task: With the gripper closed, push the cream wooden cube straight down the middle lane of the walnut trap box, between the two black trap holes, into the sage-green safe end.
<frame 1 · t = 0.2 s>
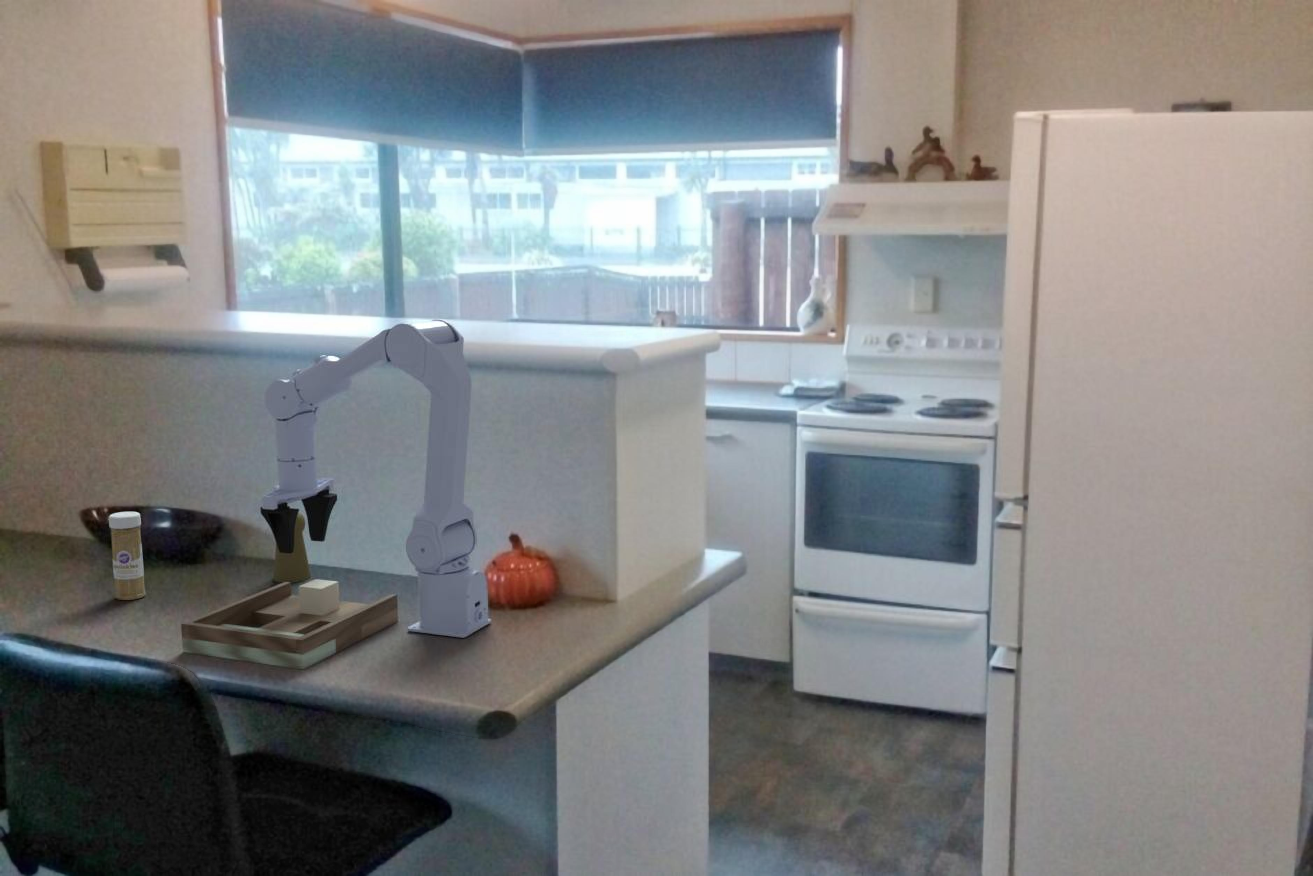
hand: (302, 546, 188), 9 cm above the worktop, fingers open, 7 cm apart
sprinkles bottle: (131, 598, 195), on the worktop
cream cube: (320, 610, 181), point 2 cm above the worktop, touching trap box
trap box: (294, 635, 175), on the worktop
cork: (292, 578, 206), on the worktop
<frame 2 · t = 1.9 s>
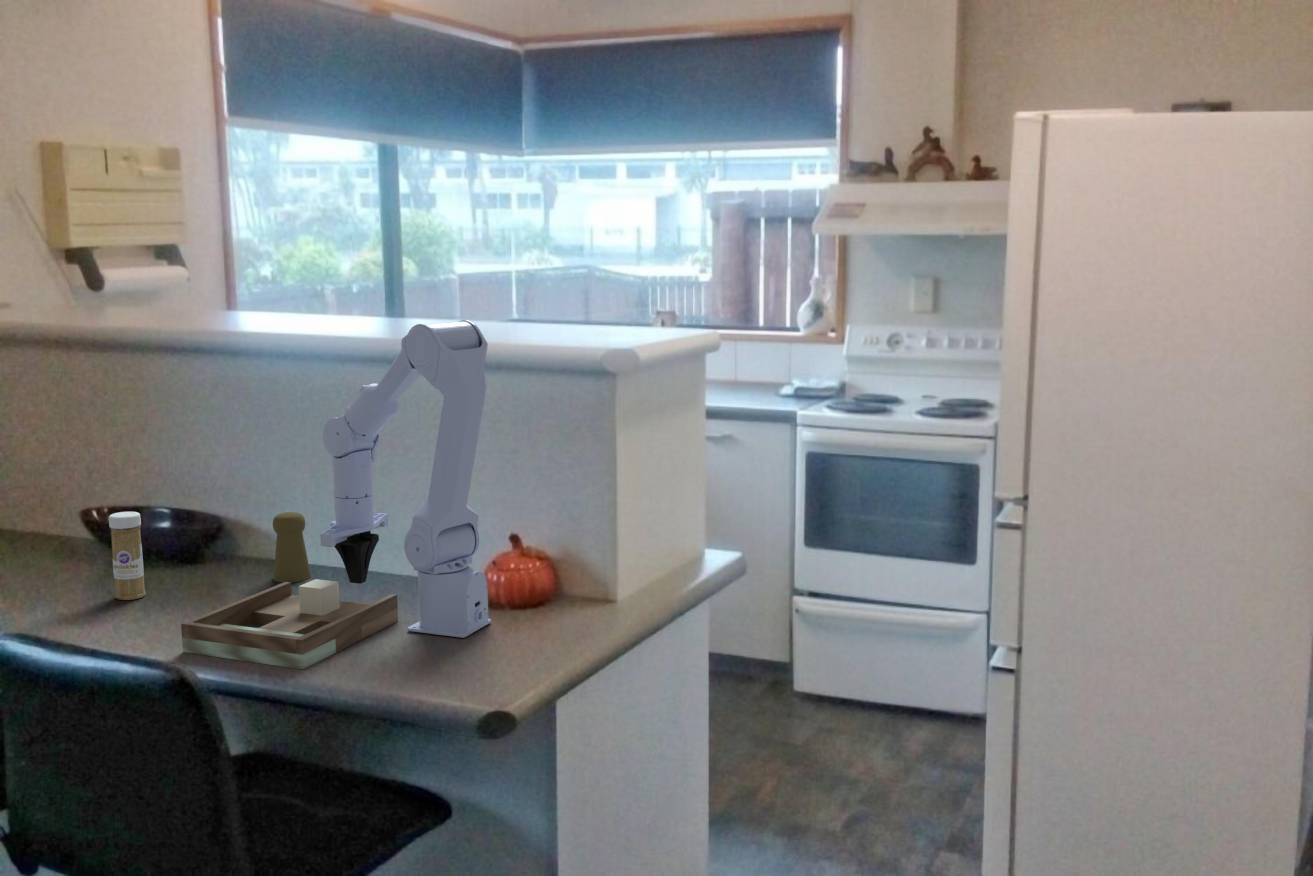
hand: (357, 582, 189), 4 cm above the worktop, fingers closed
nothing on the worktop moved.
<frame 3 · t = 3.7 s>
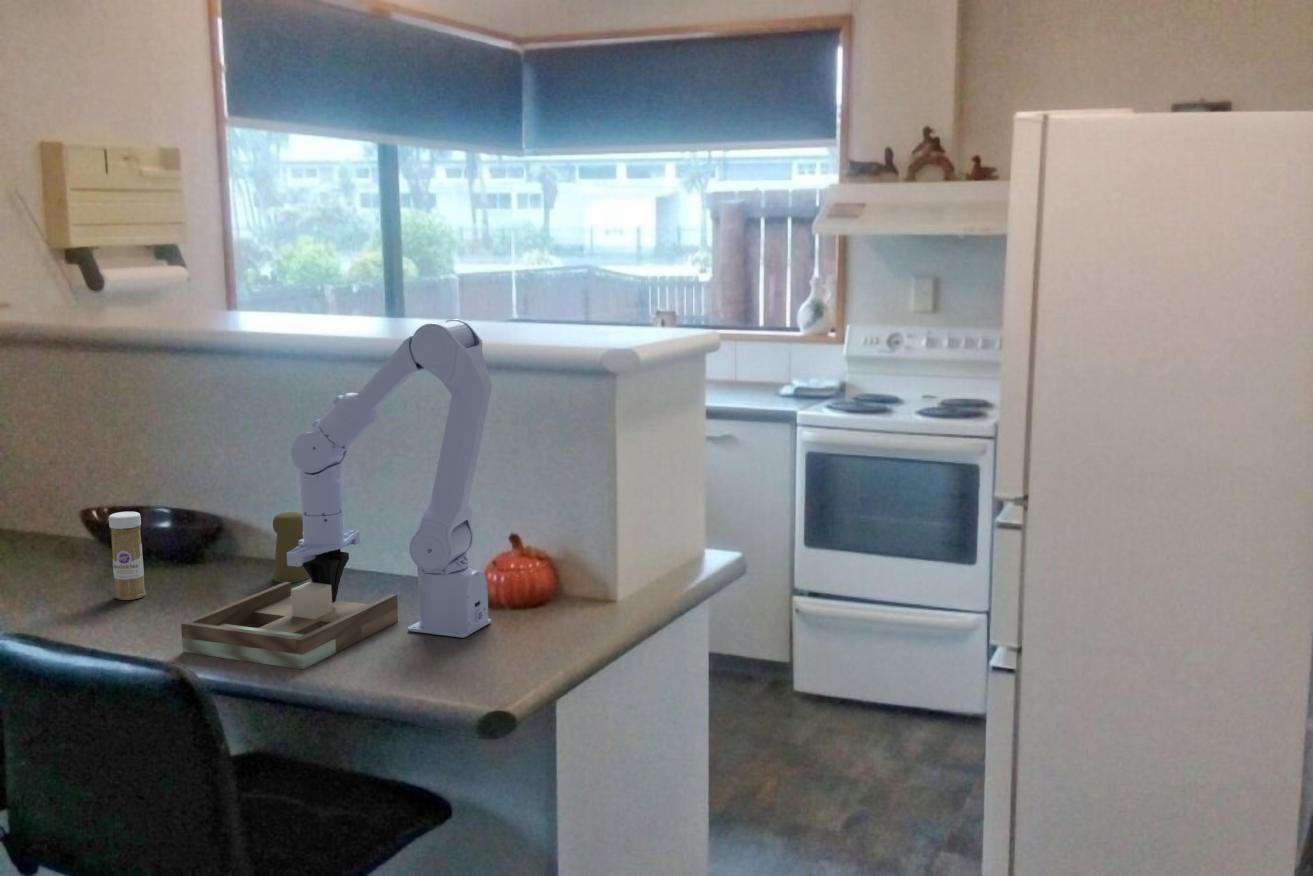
hand: (327, 602, 182), 3 cm above the worktop, fingers closed
cream cube: (312, 613, 179), point 2 cm above the worktop, touching gripper, trap box
everything else where it was.
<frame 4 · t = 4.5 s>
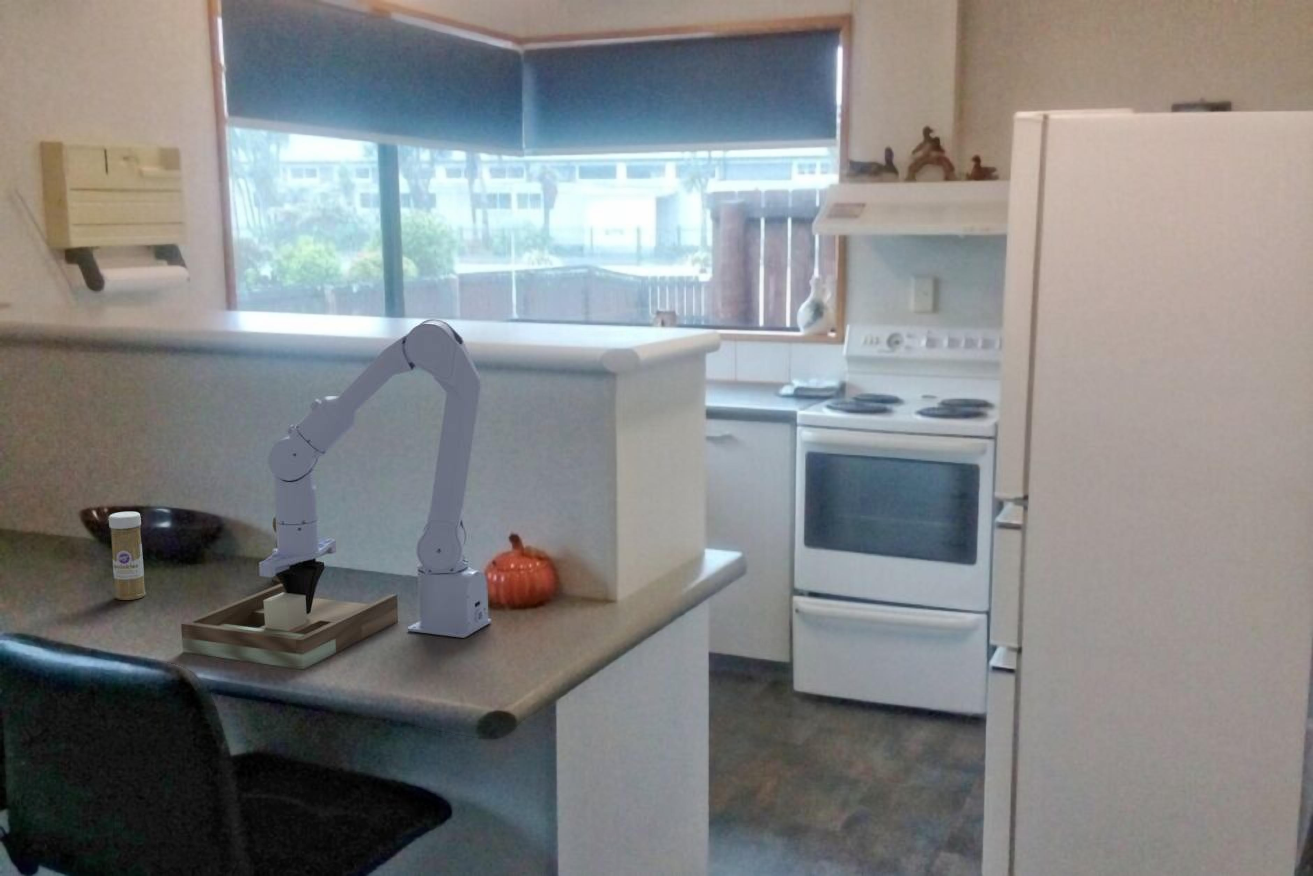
hand: (302, 613, 177), 3 cm above the worktop, fingers closed
cream cube: (286, 625, 174), point 2 cm above the worktop, touching gripper
everything else where it was.
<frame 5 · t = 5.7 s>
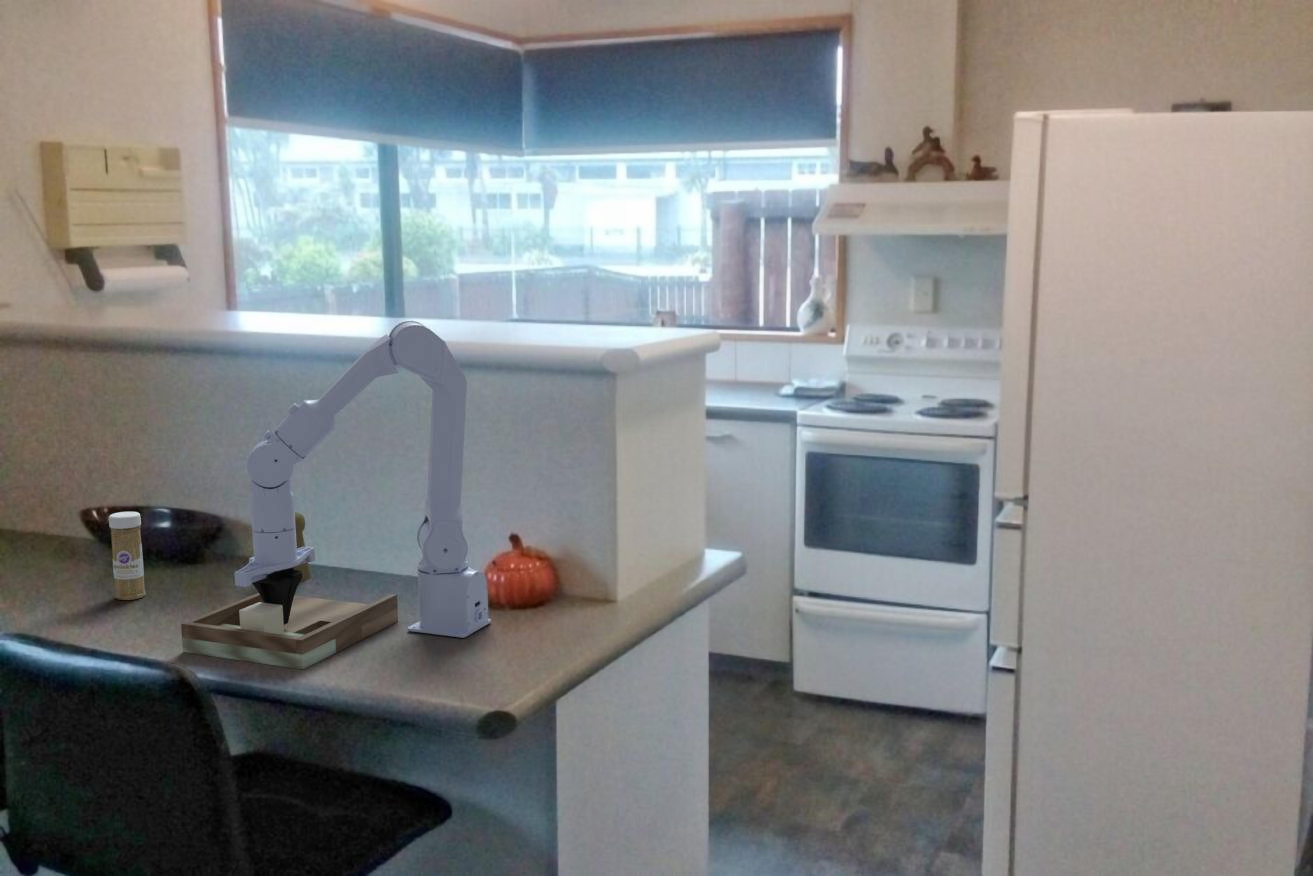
hand: (279, 623, 172), 3 cm above the worktop, fingers closed
cream cube: (262, 635, 169), point 2 cm above the worktop, touching gripper, trap box
everything else where it was.
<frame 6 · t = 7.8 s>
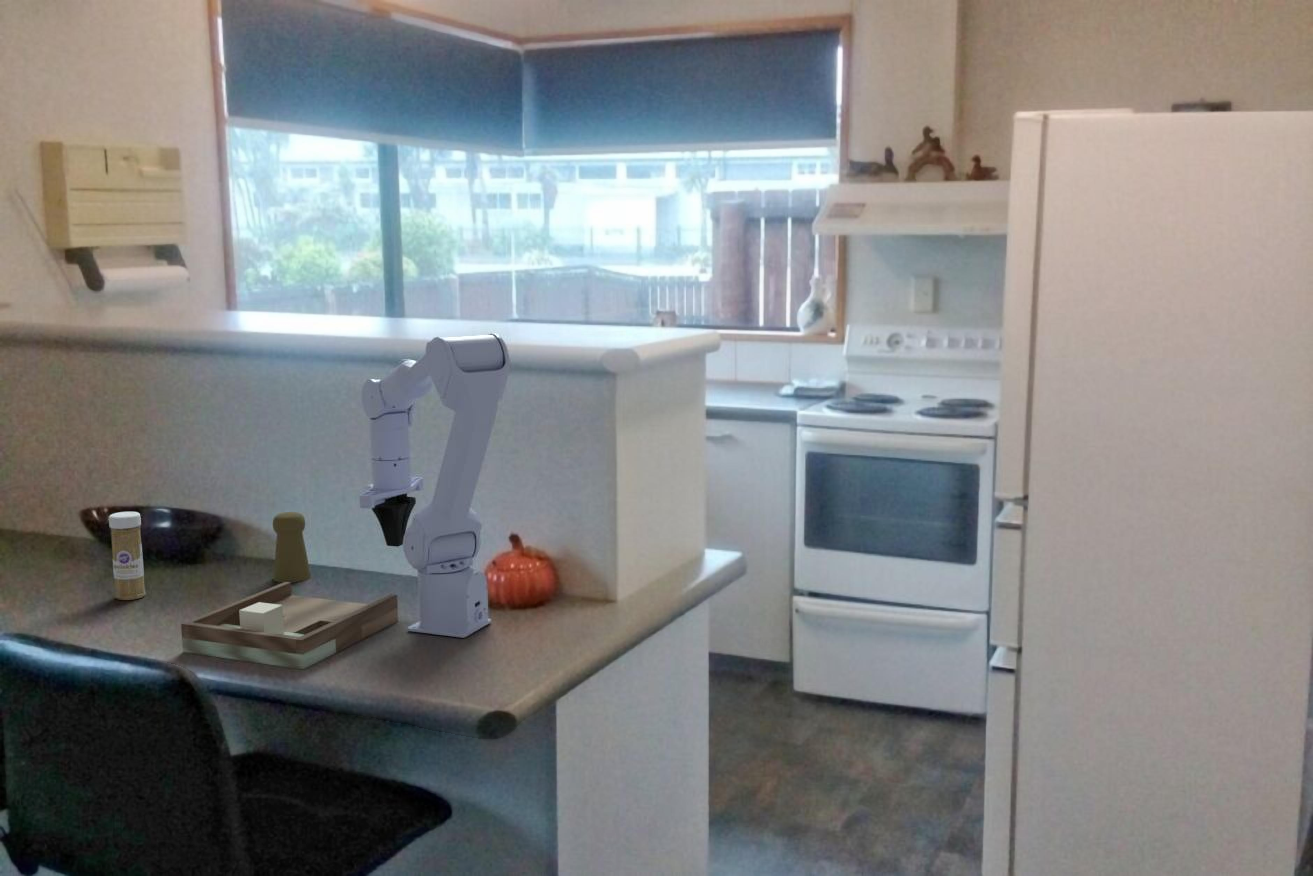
hand: (394, 545, 189), 9 cm above the worktop, fingers closed
cream cube: (262, 635, 169), point 2 cm above the worktop, touching trap box
everything else where it was.
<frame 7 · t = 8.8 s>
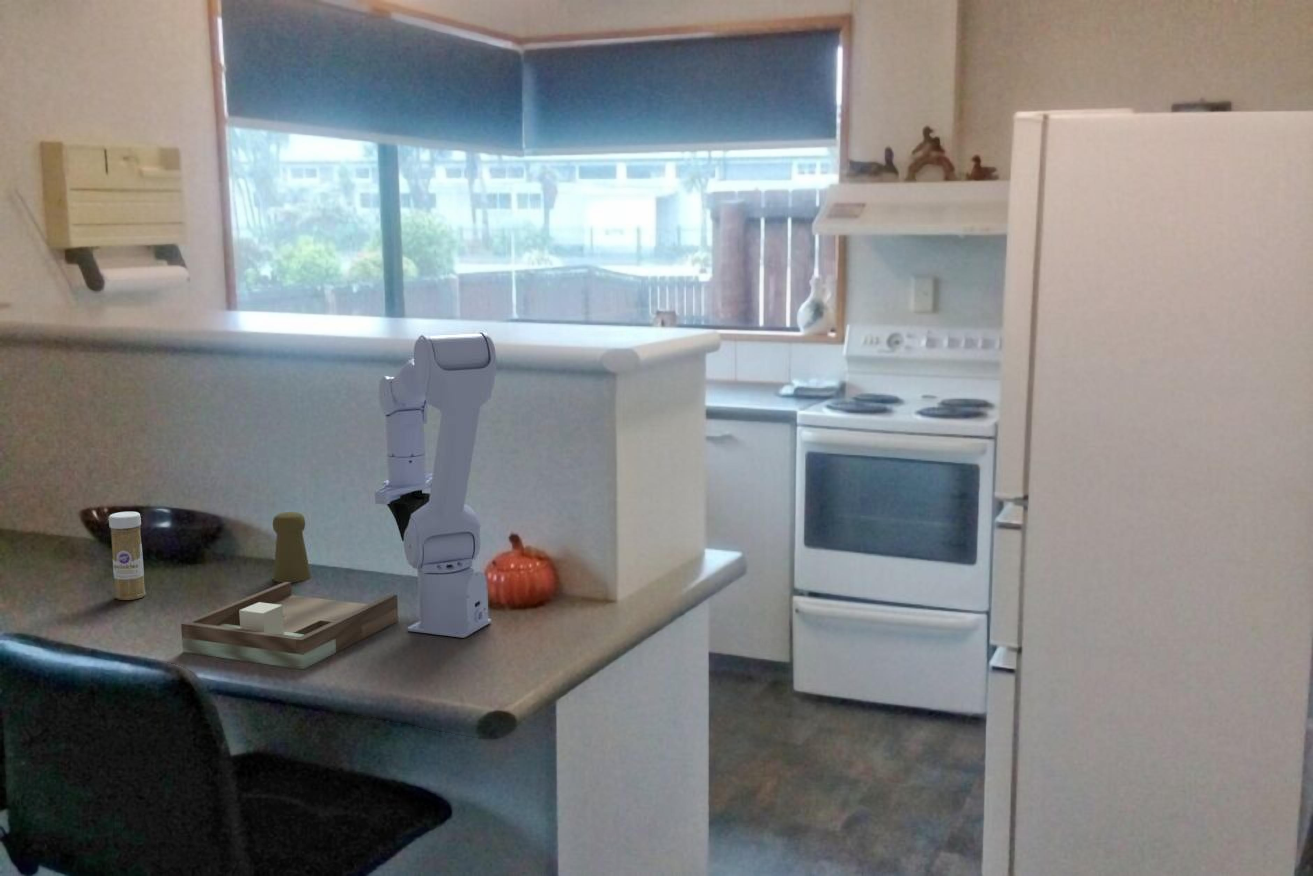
hand: (410, 540, 191), 9 cm above the worktop, fingers closed
nothing on the worktop moved.
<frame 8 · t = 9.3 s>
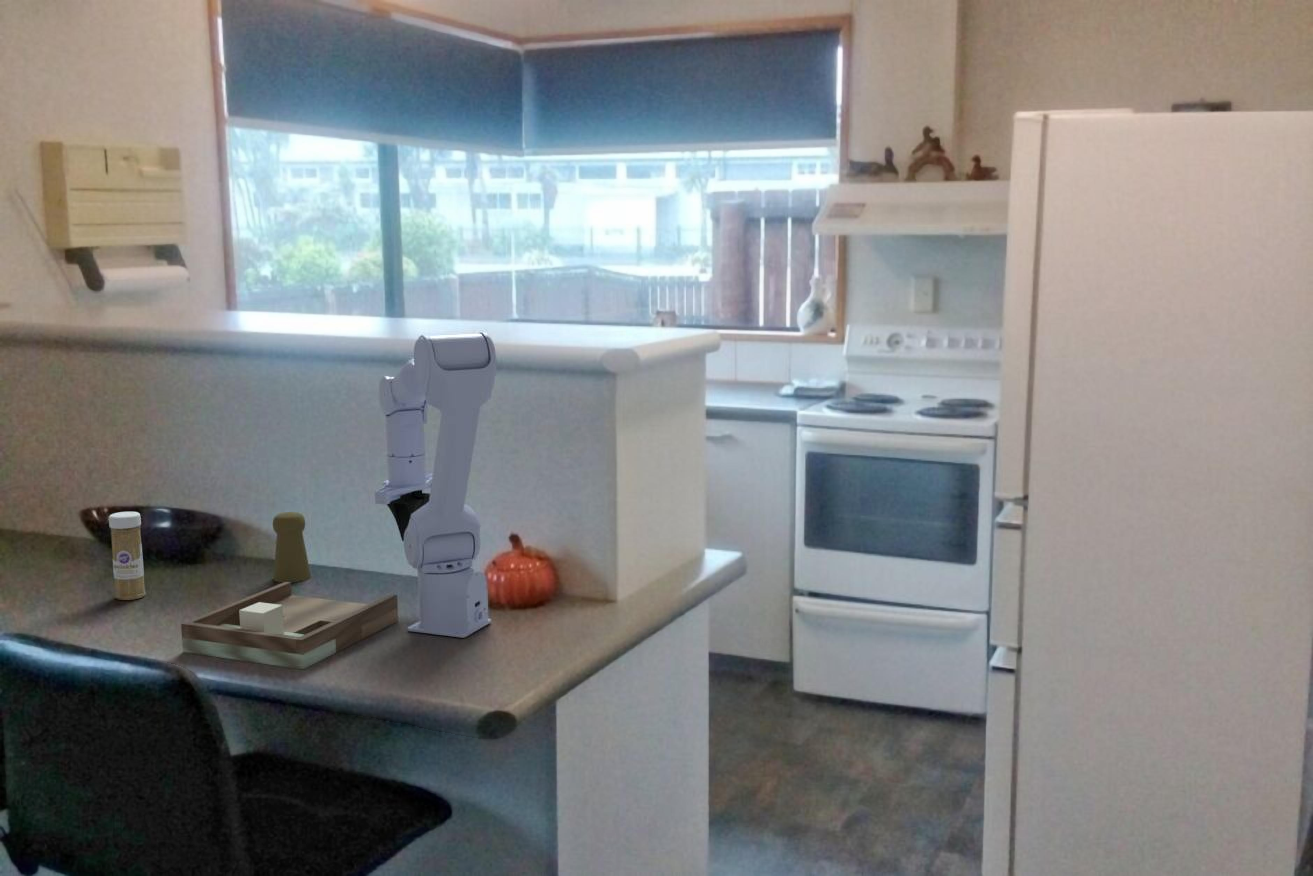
hand: (410, 540, 191), 9 cm above the worktop, fingers closed
nothing on the worktop moved.
at the end: cream cube 0.8 cm from the target spot on the trap box, point 2.0 cm above the trap box's base; cream cube tilted 0°; cream cube moved 12.5 cm from its start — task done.
